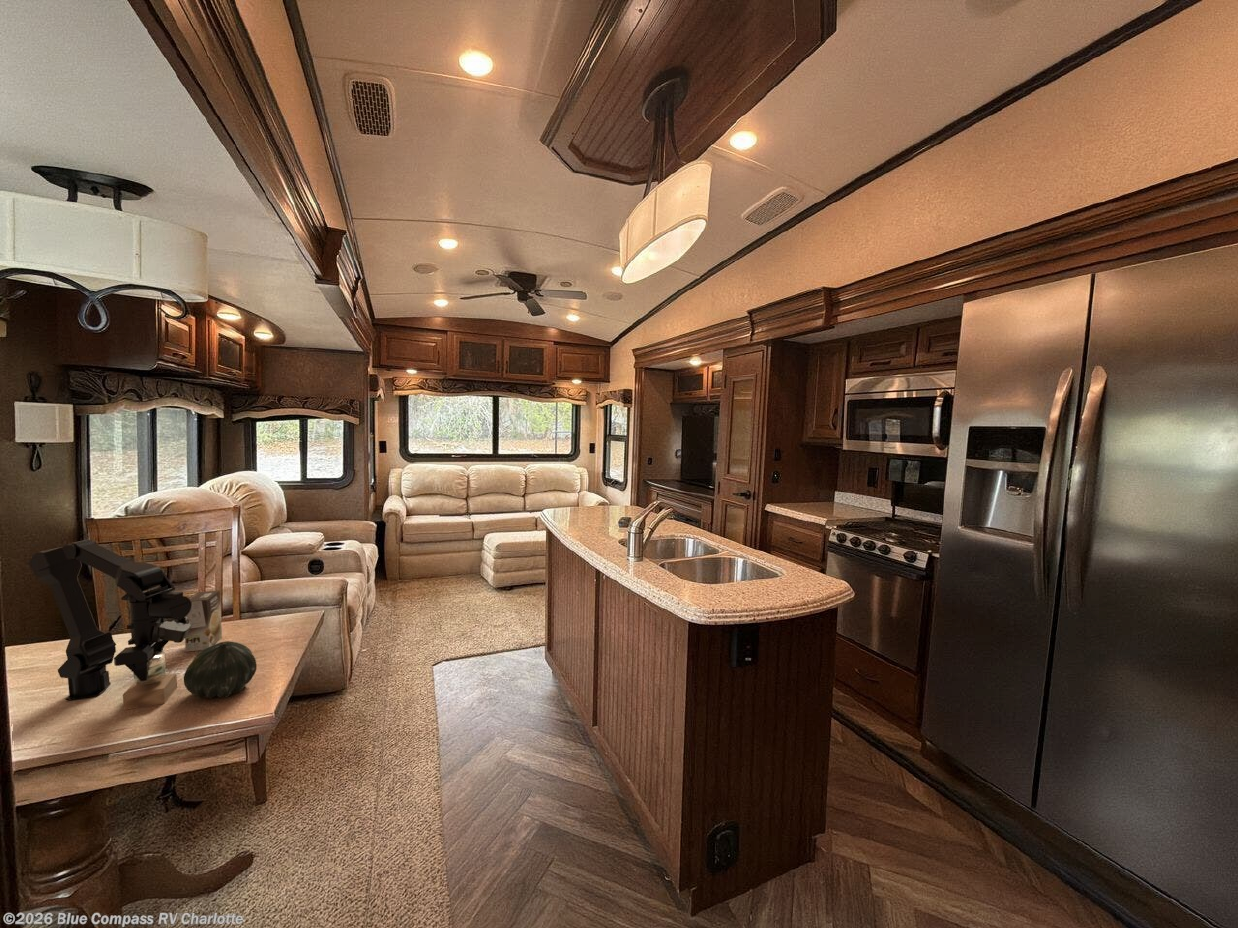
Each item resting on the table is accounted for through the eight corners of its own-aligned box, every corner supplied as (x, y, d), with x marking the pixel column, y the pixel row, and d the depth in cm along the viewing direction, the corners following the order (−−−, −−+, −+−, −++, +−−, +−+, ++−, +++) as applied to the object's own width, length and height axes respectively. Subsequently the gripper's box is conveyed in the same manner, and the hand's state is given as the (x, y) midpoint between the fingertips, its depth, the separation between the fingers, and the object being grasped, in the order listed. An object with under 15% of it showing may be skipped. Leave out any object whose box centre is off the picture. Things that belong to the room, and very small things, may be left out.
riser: (123, 709, 126) (122, 694, 125) (138, 693, 133) (137, 678, 133) (164, 703, 129) (163, 688, 129) (177, 687, 136) (176, 673, 136)
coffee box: (209, 649, 158) (206, 600, 156) (184, 652, 156) (181, 601, 154) (222, 637, 166) (220, 590, 165) (199, 639, 164) (196, 591, 163)
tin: (129, 687, 126) (127, 664, 126) (140, 675, 132) (139, 653, 131) (160, 682, 129) (158, 660, 128) (170, 671, 134) (168, 649, 134)
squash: (203, 658, 141) (187, 634, 131) (266, 652, 146) (255, 629, 136) (186, 711, 132) (167, 690, 122) (254, 703, 137) (242, 682, 127)
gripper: (170, 626, 123) (174, 686, 125) (198, 599, 140) (201, 653, 142) (110, 632, 119) (115, 695, 121) (146, 604, 136) (150, 659, 138)
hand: (149, 674), depth 130 cm, fingers closed on tin, 6 cm apart
